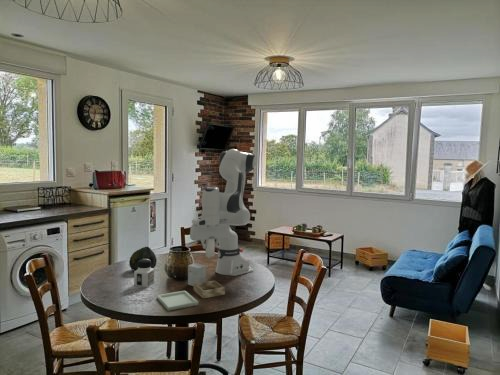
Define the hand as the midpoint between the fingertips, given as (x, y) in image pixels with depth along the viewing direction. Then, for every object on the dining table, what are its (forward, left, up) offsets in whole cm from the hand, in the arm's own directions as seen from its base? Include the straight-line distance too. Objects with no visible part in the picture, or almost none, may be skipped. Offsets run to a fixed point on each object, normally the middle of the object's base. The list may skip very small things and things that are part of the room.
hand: (210, 247), depth 181 cm
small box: (+1, -13, -23) cm, 26 cm away
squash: (+19, -50, -23) cm, 58 cm away
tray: (+18, +4, -23) cm, 29 cm away
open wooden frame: (0, 0, -23) cm, 23 cm away
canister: (0, 0, -4) cm, 4 cm away
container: (+25, -26, -23) cm, 43 cm away
